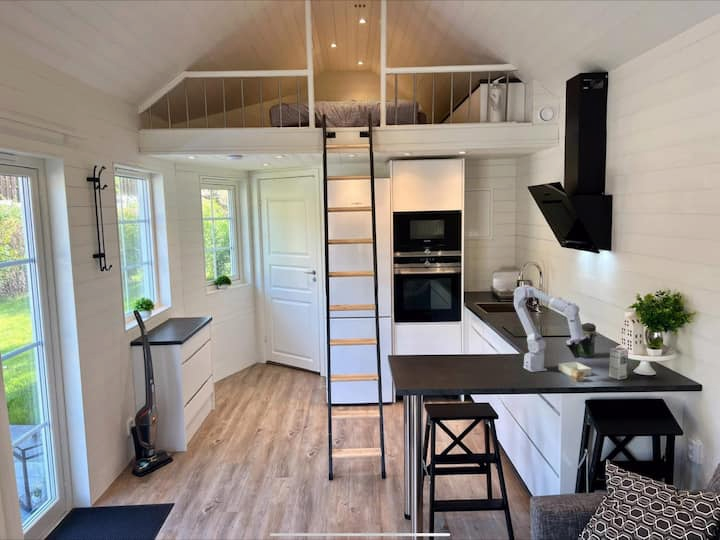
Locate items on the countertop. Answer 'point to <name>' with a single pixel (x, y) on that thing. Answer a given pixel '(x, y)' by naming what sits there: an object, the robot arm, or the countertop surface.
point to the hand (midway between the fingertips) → (581, 355)
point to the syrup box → (618, 363)
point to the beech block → (577, 375)
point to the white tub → (574, 365)
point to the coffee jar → (590, 330)
